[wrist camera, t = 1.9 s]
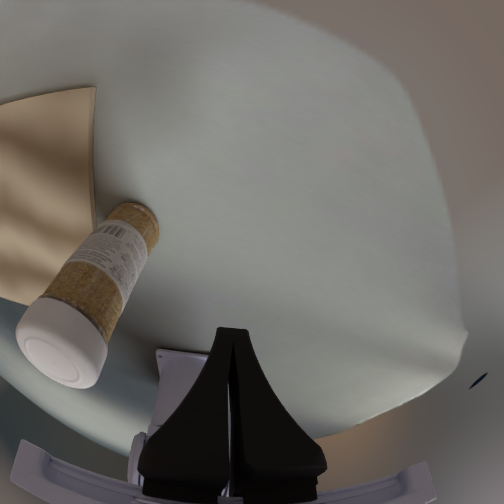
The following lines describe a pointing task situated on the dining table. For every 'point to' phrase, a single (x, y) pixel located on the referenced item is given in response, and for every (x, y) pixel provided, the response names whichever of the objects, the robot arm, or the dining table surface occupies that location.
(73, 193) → the birch board
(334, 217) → the dining table surface
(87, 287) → the sprinkles bottle
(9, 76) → the dining table surface
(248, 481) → the robot arm
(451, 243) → the dining table surface
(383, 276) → the dining table surface
